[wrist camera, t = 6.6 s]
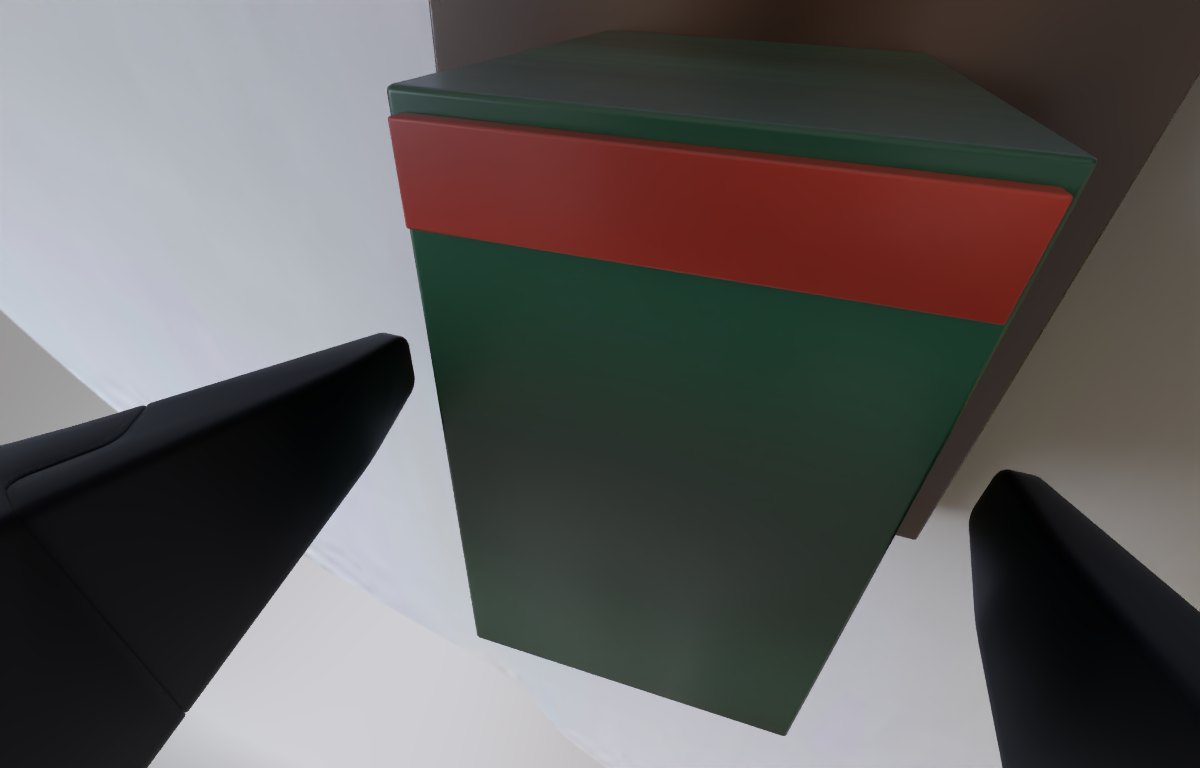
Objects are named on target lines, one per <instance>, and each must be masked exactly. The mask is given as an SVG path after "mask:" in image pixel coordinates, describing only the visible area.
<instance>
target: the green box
mask: <svg viewBox="0 0 1200 768" xmlns="http://www.w3.org/2000/svg"><path fill="white" fill-rule="evenodd" d="M387 94H388V100H389V106H390V112H391V116H389V117H388V122H389V128H390V134H391V140H392V146H393V152H394V157H395V163H396V169H397V175H398V181H399V187H400V193H401V199H402V205H403V210H404V216H405V222H406V227H407V228H409V229H410V233H411V239H412V245H413V251H414V257H415V263H416V269H417V275H418V281H419V287H420V293H421V299H422V305H423V311H424V317H425V323H426V329H427V335H428V341H429V347H430V353H431V359H432V365H433V371H434V377H435V383H436V389H437V395H438V401H439V407H440V413H441V419H442V425H443V431H444V437H445V443H446V449H447V455H448V461H449V467H450V473H451V479H452V486H453V492H454V498H455V504H456V510H457V516H458V522H459V528H460V534H461V540H462V546H463V552H464V558H465V564H466V570H467V576H468V582H469V588H470V594H471V600H472V606H473V612H474V618H475V624H476V630H477V635H478V636H479V637H480V638H483V639H486V640H490V641H493V642H496V643H499V644H502V645H505V646H508V647H511V648H514V649H517V650H520V651H523V652H526V653H530V654H533V655H536V656H539V657H542V658H545V659H548V660H551V661H554V662H557V663H560V664H563V665H566V666H569V667H573V668H576V669H579V670H582V671H585V672H588V673H591V674H594V675H597V676H600V677H603V678H606V679H609V680H613V681H616V682H619V683H622V684H625V685H628V686H631V687H634V688H637V689H640V690H643V691H646V692H649V693H652V694H656V695H659V696H662V697H665V698H668V699H671V700H674V701H677V702H680V703H683V704H686V705H689V706H692V707H696V708H699V709H702V710H705V711H708V712H711V713H714V714H717V715H720V716H723V717H726V718H729V719H732V720H736V721H739V722H742V723H745V724H748V725H751V726H754V727H757V728H760V729H763V730H766V731H769V732H772V733H775V734H779V735H782V736H786V734H787V732H788V731H789V729H790V727H791V725H792V723H793V721H794V720H795V718H796V716H797V714H798V712H799V710H800V709H801V707H802V705H803V703H804V701H805V699H806V698H807V696H808V694H809V692H810V690H811V688H812V687H813V685H814V683H815V681H816V679H817V677H818V676H819V674H820V672H821V670H822V668H823V666H824V665H825V663H826V661H827V659H828V657H829V655H830V654H831V652H832V650H833V648H834V646H835V644H836V643H837V641H838V639H839V637H840V635H841V633H842V632H843V630H844V628H845V626H846V624H847V622H848V621H849V619H850V617H851V615H852V613H853V611H854V610H855V608H856V606H857V604H858V602H859V600H860V599H861V597H862V595H863V593H864V591H865V589H866V588H867V586H868V584H869V582H870V580H871V578H872V577H873V575H874V573H875V571H876V569H877V567H878V566H879V564H880V562H881V560H882V558H883V556H884V555H885V553H886V551H887V549H888V547H889V545H890V544H891V542H892V540H893V538H894V536H895V534H896V533H897V531H898V529H899V527H900V525H901V523H902V522H903V520H904V518H905V516H906V514H907V512H908V511H909V509H910V507H911V505H912V503H913V501H914V500H915V498H916V496H917V494H918V492H919V490H920V489H921V487H922V485H923V483H924V481H925V479H926V478H927V476H928V474H929V472H930V470H931V468H932V467H933V465H934V463H935V461H936V459H937V457H938V456H939V454H940V452H941V450H942V448H943V446H944V445H945V443H946V441H947V439H948V437H949V435H950V434H951V432H952V430H953V428H954V426H955V424H956V423H957V421H958V419H959V417H960V415H961V413H962V412H963V410H964V408H965V406H966V404H967V402H968V401H969V399H970V397H971V395H972V393H973V391H974V390H975V388H976V386H977V384H978V382H979V380H980V379H981V377H982V375H983V373H984V371H985V369H986V368H987V366H988V364H989V362H990V360H991V358H992V357H993V355H994V353H995V351H996V349H997V347H998V346H999V344H1000V342H1001V340H1002V338H1003V336H1004V335H1005V333H1006V331H1007V329H1008V327H1009V325H1010V324H1011V322H1012V320H1013V318H1014V316H1015V314H1016V313H1017V311H1018V309H1019V307H1020V305H1021V303H1022V302H1023V300H1024V298H1025V296H1026V294H1027V292H1028V291H1029V289H1030V287H1031V285H1032V283H1033V281H1034V280H1035V278H1036V276H1037V274H1038V272H1039V270H1040V269H1041V267H1042V265H1043V263H1044V261H1045V259H1046V258H1047V256H1048V254H1049V252H1050V250H1051V248H1052V247H1053V245H1054V243H1055V241H1056V239H1057V237H1058V236H1059V234H1060V232H1061V230H1062V228H1063V226H1064V225H1065V223H1066V221H1067V219H1068V217H1069V215H1070V214H1071V212H1072V210H1073V208H1074V206H1075V204H1076V203H1077V201H1078V199H1079V197H1080V195H1081V193H1082V192H1083V190H1084V188H1085V186H1086V184H1087V182H1088V181H1089V179H1090V177H1091V175H1092V173H1093V171H1094V170H1095V168H1096V165H1097V158H1095V157H1094V156H1092V155H1090V154H1089V153H1087V152H1085V151H1084V150H1082V149H1081V148H1079V147H1077V146H1076V145H1074V144H1072V143H1071V142H1069V141H1068V140H1066V139H1064V138H1063V137H1061V136H1059V135H1058V134H1056V133H1055V132H1053V131H1051V130H1050V129H1048V128H1047V127H1045V126H1043V125H1042V124H1040V123H1038V122H1037V121H1035V120H1034V119H1032V118H1030V117H1029V116H1027V115H1025V114H1024V113H1022V112H1021V111H1019V110H1017V109H1016V108H1014V107H1013V106H1011V105H1009V104H1008V103H1006V102H1004V101H1003V100H1001V99H1000V98H998V97H996V96H995V95H993V94H991V93H990V92H988V91H987V90H985V89H983V88H982V87H980V86H978V85H977V84H975V83H974V82H972V81H970V80H969V79H967V78H966V77H964V76H962V75H961V74H959V73H957V72H956V71H954V70H953V69H951V68H949V67H948V66H946V65H944V64H943V63H941V62H940V61H938V60H936V59H935V58H933V57H931V56H930V55H928V54H927V53H919V52H905V51H892V50H878V49H864V48H850V47H837V46H823V45H809V44H795V43H782V42H768V41H754V40H740V39H727V38H713V37H699V36H686V35H672V34H658V33H644V32H631V31H617V30H607V31H603V32H599V33H595V34H591V35H587V36H583V37H579V38H575V39H571V40H567V41H563V42H559V43H555V44H551V45H547V46H543V47H538V48H534V49H530V50H526V51H522V52H518V53H514V54H510V55H506V56H502V57H498V58H494V59H490V60H486V61H482V62H478V63H474V64H470V65H466V66H462V67H458V68H454V69H450V70H446V71H442V72H438V73H434V74H430V75H426V76H422V77H418V78H414V79H410V80H406V81H402V82H398V83H394V84H391V85H389V86H388V89H387Z"/></svg>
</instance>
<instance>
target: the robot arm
mask: <svg viewBox="0 0 1200 768" xmlns="http://www.w3.org/2000/svg"><path fill="white" fill-rule="evenodd" d="M414 380H415V377H414V371H413V365H412V360H411V354H410V349H409V344H408V342H407V340H406V339H405V338H403V337H401V336H397V335H392V334H388V333H378V334H375V335H372V336H368V337H365V338H362V339H359V340H355V341H352V342H349V343H345V344H342V345H339V346H336V347H332V348H329V349H326V350H323V351H319V352H316V353H313V354H309V355H306V356H303V357H300V358H296V359H293V360H290V361H287V362H283V363H280V364H277V365H273V366H270V367H267V368H264V369H260V370H257V371H254V372H251V373H247V374H244V375H241V376H238V377H234V378H231V379H228V380H224V381H221V382H218V383H215V384H211V385H208V386H205V387H202V388H198V389H195V390H192V391H188V392H185V393H182V394H179V395H175V396H172V397H169V398H166V399H162V400H159V401H156V402H152V403H150V404H148V405H147V407H146V406H139V407H136V408H132V409H129V410H126V411H123V412H119V413H116V414H113V415H109V416H106V417H103V418H99V419H96V420H92V421H89V422H86V423H82V424H79V425H75V426H72V427H69V428H65V429H61V430H57V431H54V432H50V433H46V434H42V435H39V436H35V437H31V438H27V439H24V440H20V441H17V442H13V443H9V444H5V445H1V446H0V768H147V767H148V766H149V765H150V763H151V761H152V760H153V759H154V758H155V756H156V755H157V754H158V752H159V751H160V750H161V748H162V747H163V745H164V744H165V743H166V741H167V740H168V739H169V737H170V736H171V735H172V733H173V731H174V730H175V729H176V728H177V726H178V725H179V724H180V722H181V721H182V719H183V718H184V717H185V712H187V711H189V709H190V708H191V707H192V705H193V704H194V703H195V701H196V700H197V699H198V697H199V696H200V694H201V693H202V692H203V690H204V689H205V688H206V686H207V685H208V684H209V682H210V681H211V679H212V678H213V677H214V675H215V674H216V673H217V671H218V670H219V668H220V667H221V666H222V664H223V663H224V662H225V660H226V659H227V657H228V656H229V655H230V653H231V652H232V651H233V649H234V648H235V647H236V645H237V644H238V642H239V641H240V640H241V638H242V637H243V636H244V634H245V633H246V632H247V630H248V629H249V628H250V626H251V625H252V623H253V622H254V621H255V619H256V618H257V617H258V615H259V614H260V613H261V611H262V610H263V608H264V607H265V606H266V604H267V603H268V602H269V600H270V599H271V598H272V596H273V595H274V593H275V592H276V591H277V589H278V588H279V587H280V585H281V584H282V582H283V581H284V580H285V578H286V577H287V575H288V574H289V573H290V571H291V570H292V569H293V567H294V566H295V565H296V563H297V562H298V561H299V559H300V558H301V557H302V555H303V554H304V553H305V551H306V550H307V548H308V547H309V546H310V544H311V543H312V542H313V540H314V539H315V538H316V536H317V535H318V533H319V532H320V531H321V529H322V528H323V527H324V525H325V524H326V523H327V521H328V520H329V518H330V517H331V516H332V514H333V513H334V512H335V510H336V509H337V508H338V506H339V505H340V503H341V502H342V501H343V499H344V498H345V497H346V495H347V494H348V493H349V491H350V490H351V488H352V487H353V486H354V484H355V483H356V482H357V480H358V479H359V478H360V476H361V475H362V473H363V472H364V471H365V469H366V468H367V466H368V465H369V463H370V462H371V460H372V459H373V457H374V456H375V454H376V452H377V451H378V449H379V447H380V446H381V444H382V442H383V440H384V439H385V437H386V435H387V434H388V432H389V430H390V428H391V427H392V425H393V423H394V421H395V420H396V418H397V416H398V415H399V413H400V411H401V409H402V408H403V406H404V404H405V402H406V401H407V399H408V397H409V396H410V394H411V392H412V390H413V387H414ZM969 535H970V550H971V566H972V582H973V597H974V612H975V622H976V630H977V636H978V642H979V648H980V653H981V658H982V663H983V668H984V674H985V679H986V684H987V689H988V694H989V699H990V705H991V710H992V715H993V720H994V725H995V731H996V736H997V741H998V746H999V751H1000V756H1001V762H1002V767H1003V768H1200V612H1199V611H1198V610H1197V609H1195V608H1194V607H1193V606H1192V605H1191V604H1190V603H1188V602H1187V601H1186V600H1185V599H1184V598H1182V597H1181V596H1180V595H1179V594H1178V593H1176V592H1175V591H1174V590H1173V589H1172V588H1170V587H1169V586H1168V585H1167V584H1166V583H1165V582H1163V581H1162V580H1161V579H1160V578H1159V577H1157V576H1156V575H1155V574H1154V573H1153V572H1151V571H1150V570H1149V569H1148V568H1147V567H1146V566H1144V565H1143V564H1142V563H1141V562H1140V561H1138V560H1137V559H1136V558H1135V557H1134V556H1132V555H1131V554H1130V553H1129V552H1128V551H1126V550H1125V549H1124V548H1123V547H1122V546H1121V545H1119V544H1118V543H1117V542H1116V541H1115V540H1113V539H1112V538H1111V537H1110V536H1109V535H1107V534H1106V533H1105V532H1104V531H1103V530H1102V529H1100V528H1099V527H1098V526H1097V525H1096V524H1094V523H1093V522H1092V521H1091V520H1090V519H1088V518H1087V517H1086V516H1085V515H1084V514H1082V513H1081V512H1080V511H1079V510H1078V509H1077V508H1075V507H1074V506H1073V505H1072V504H1071V503H1069V502H1068V501H1067V500H1066V499H1065V498H1063V497H1062V496H1061V495H1060V494H1059V493H1058V492H1056V491H1055V490H1054V489H1053V488H1052V487H1050V486H1049V485H1048V484H1047V483H1046V482H1044V481H1043V480H1042V479H1041V478H1039V477H1037V476H1035V475H1031V474H1026V473H1022V472H1017V471H1012V470H1002V471H1000V472H998V473H997V474H996V475H995V476H994V478H993V479H992V481H991V482H990V484H989V485H988V487H987V488H986V490H985V491H984V493H983V494H982V496H981V497H980V499H979V500H978V502H977V503H976V505H975V506H974V508H973V510H972V512H971V515H970V519H969Z"/></svg>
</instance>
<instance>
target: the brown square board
mask: <svg viewBox="0 0 1200 768" xmlns="http://www.w3.org/2000/svg"><path fill="white" fill-rule="evenodd" d="M429 7H430V16H431V25H432V35H433V44H434V53H435V63H436V72H437V73H438V72H442V71H446V70H450V69H454V68H458V67H462V66H466V65H470V64H474V63H478V62H482V61H486V60H490V59H494V58H498V57H502V56H506V55H510V54H514V53H518V52H522V51H526V50H530V49H534V48H538V47H543V46H547V45H551V44H555V43H559V42H563V41H567V40H571V39H575V38H579V37H583V36H587V35H591V34H595V33H599V32H603V31H607V30H617V31H631V32H644V33H658V34H672V35H686V36H699V37H713V38H727V39H740V40H754V41H768V42H782V43H795V44H809V45H823V46H837V47H850V48H864V49H878V50H892V51H905V52H919V53H927V54H928V55H930V56H931V57H933V58H935V59H936V60H938V61H940V62H941V63H943V64H944V65H946V66H948V67H949V68H951V69H953V70H954V71H956V72H957V73H959V74H961V75H962V76H964V77H966V78H967V79H969V80H970V81H972V82H974V83H975V84H977V85H978V86H980V87H982V88H983V89H985V90H987V91H988V92H990V93H991V94H993V95H995V96H996V97H998V98H1000V99H1001V100H1003V101H1004V102H1006V103H1008V104H1009V105H1011V106H1013V107H1014V108H1016V109H1017V110H1019V111H1021V112H1022V113H1024V114H1025V115H1027V116H1029V117H1030V118H1032V119H1034V120H1035V121H1037V122H1038V123H1040V124H1042V125H1043V126H1045V127H1047V128H1048V129H1050V130H1051V131H1053V132H1055V133H1056V134H1058V135H1059V136H1061V137H1063V138H1064V139H1066V140H1068V141H1069V142H1071V143H1072V144H1074V145H1076V146H1077V147H1079V148H1081V149H1082V150H1084V151H1085V152H1087V153H1089V154H1090V155H1092V156H1094V157H1095V158H1097V165H1096V168H1095V170H1094V171H1093V173H1092V175H1091V177H1090V179H1089V181H1088V182H1087V184H1086V186H1085V188H1084V190H1083V192H1082V193H1081V195H1080V197H1079V199H1078V201H1077V203H1076V204H1075V206H1074V208H1073V210H1072V212H1071V214H1070V215H1069V217H1068V219H1067V221H1066V223H1065V225H1064V226H1063V228H1062V230H1061V232H1060V234H1059V236H1058V237H1057V239H1056V241H1055V243H1054V245H1053V247H1052V248H1051V250H1050V252H1049V254H1048V256H1047V258H1046V259H1045V261H1044V263H1043V265H1042V267H1041V269H1040V270H1039V272H1038V274H1037V276H1036V278H1035V280H1034V281H1033V283H1032V285H1031V287H1030V289H1029V291H1028V292H1027V294H1026V296H1025V298H1024V300H1023V302H1022V303H1021V305H1020V307H1019V309H1018V311H1017V313H1016V314H1015V316H1014V318H1013V320H1012V322H1011V324H1010V325H1009V327H1008V329H1007V331H1006V333H1005V335H1004V336H1003V338H1002V340H1001V342H1000V344H999V346H998V347H997V349H996V351H995V353H994V355H993V357H992V358H991V360H990V362H989V364H988V366H987V368H986V369H985V371H984V373H983V375H982V377H981V379H980V380H979V382H978V384H977V386H976V388H975V390H974V391H973V393H972V395H971V397H970V399H969V401H968V402H967V404H966V406H965V408H964V410H963V412H962V413H961V415H960V417H959V419H958V421H957V423H956V424H955V426H954V428H953V430H952V432H951V434H950V435H949V437H948V439H947V441H946V443H945V445H944V446H943V448H942V450H941V452H940V454H939V456H938V457H937V459H936V461H935V463H934V465H933V467H932V468H931V470H930V472H929V474H928V476H927V478H926V479H925V481H924V483H923V485H922V487H921V489H920V490H919V492H918V494H917V496H916V498H915V500H914V501H913V503H912V505H911V507H910V509H909V511H908V512H907V514H906V516H905V518H904V520H903V522H902V523H901V525H900V527H899V529H898V531H897V533H896V534H895V535H898V536H902V537H906V538H910V539H917V537H918V535H919V534H920V532H921V531H922V529H923V527H924V526H925V524H926V522H927V521H928V519H929V517H930V516H931V514H932V512H933V511H934V509H935V507H936V506H937V504H938V503H939V501H940V499H941V498H942V496H943V494H944V493H945V491H946V489H947V488H948V486H949V484H950V483H951V481H952V480H953V478H954V476H955V475H956V473H957V471H958V470H959V468H960V466H961V465H962V463H963V461H964V460H965V458H966V456H967V455H968V453H969V452H970V450H971V448H972V447H973V445H974V443H975V442H976V440H977V438H978V437H979V435H980V433H981V432H982V430H983V429H984V427H985V425H986V424H987V422H988V420H989V419H990V417H991V415H992V414H993V412H994V410H995V409H996V407H997V406H998V404H999V402H1000V401H1001V399H1002V397H1003V396H1004V394H1005V392H1006V391H1007V389H1008V387H1009V386H1010V384H1011V382H1012V381H1013V379H1014V378H1015V376H1016V374H1017V373H1018V371H1019V369H1020V368H1021V366H1022V364H1023V363H1024V361H1025V359H1026V358H1027V356H1028V355H1029V353H1030V351H1031V350H1032V348H1033V346H1034V345H1035V343H1036V341H1037V340H1038V338H1039V336H1040V335H1041V333H1042V332H1043V330H1044V328H1045V327H1046V325H1047V323H1048V322H1049V320H1050V318H1051V317H1052V315H1053V313H1054V312H1055V310H1056V308H1057V307H1058V305H1059V304H1060V302H1061V300H1062V299H1063V297H1064V295H1065V294H1066V292H1067V290H1068V289H1069V287H1070V285H1071V284H1072V282H1073V281H1074V279H1075V277H1076V276H1077V274H1078V272H1079V271H1080V269H1081V267H1082V266H1083V264H1084V262H1085V261H1086V259H1087V257H1088V256H1089V254H1090V253H1091V251H1092V249H1093V248H1094V246H1095V244H1096V243H1097V241H1098V239H1099V238H1100V236H1101V234H1102V233H1103V231H1104V230H1105V228H1106V226H1107V225H1108V223H1109V221H1110V220H1111V218H1112V216H1113V215H1114V213H1115V211H1116V210H1117V208H1118V207H1119V205H1120V203H1121V202H1122V200H1123V198H1124V197H1125V195H1126V193H1127V192H1128V190H1129V188H1130V187H1131V185H1132V183H1133V182H1134V180H1135V179H1136V177H1137V175H1138V174H1139V172H1140V170H1141V169H1142V167H1143V165H1144V164H1145V162H1146V160H1147V159H1148V157H1149V156H1150V154H1151V152H1152V151H1153V149H1154V147H1155V146H1156V144H1157V142H1158V141H1159V139H1160V137H1161V136H1162V134H1163V133H1164V131H1165V129H1166V128H1167V126H1168V124H1169V123H1170V121H1171V119H1172V118H1173V116H1174V114H1175V113H1176V111H1177V109H1178V108H1179V106H1180V105H1181V103H1182V101H1183V100H1184V98H1185V96H1186V95H1187V93H1188V91H1189V90H1190V88H1191V86H1192V85H1193V83H1194V82H1195V80H1196V78H1197V77H1198V75H1199V73H1200V0H429Z"/></svg>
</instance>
